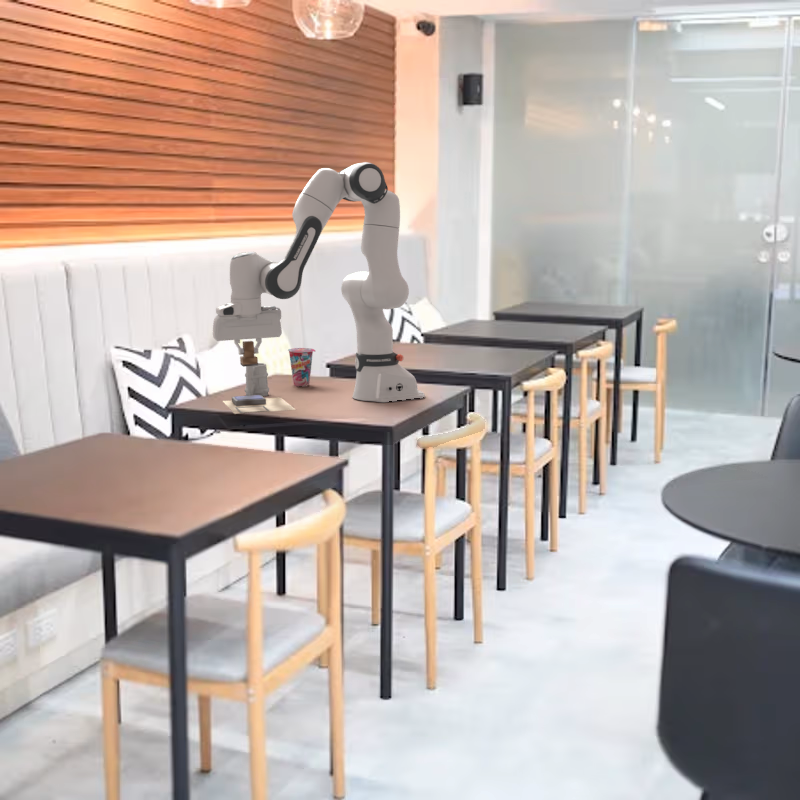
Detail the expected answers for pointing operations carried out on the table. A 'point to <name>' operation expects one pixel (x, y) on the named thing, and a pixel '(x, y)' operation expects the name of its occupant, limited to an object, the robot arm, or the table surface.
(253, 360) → the stamp
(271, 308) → the robot arm
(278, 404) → the board
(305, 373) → the cup
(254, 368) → the mug
